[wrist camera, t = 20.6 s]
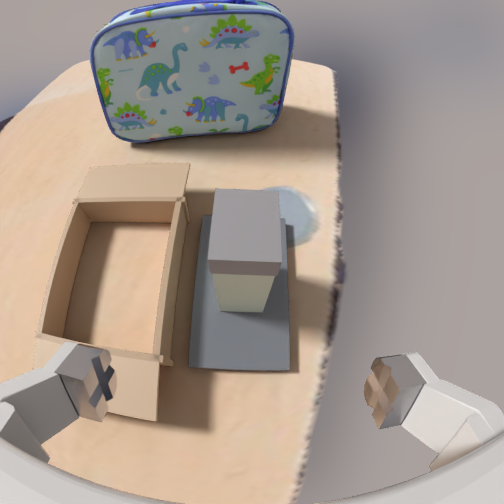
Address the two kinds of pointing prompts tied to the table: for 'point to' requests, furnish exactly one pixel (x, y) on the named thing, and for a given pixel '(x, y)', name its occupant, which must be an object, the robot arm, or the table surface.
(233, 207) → the block
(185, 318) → the table surface
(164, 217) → the open cardboard box
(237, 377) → the table surface
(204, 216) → the slate mat
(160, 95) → the lunch box
